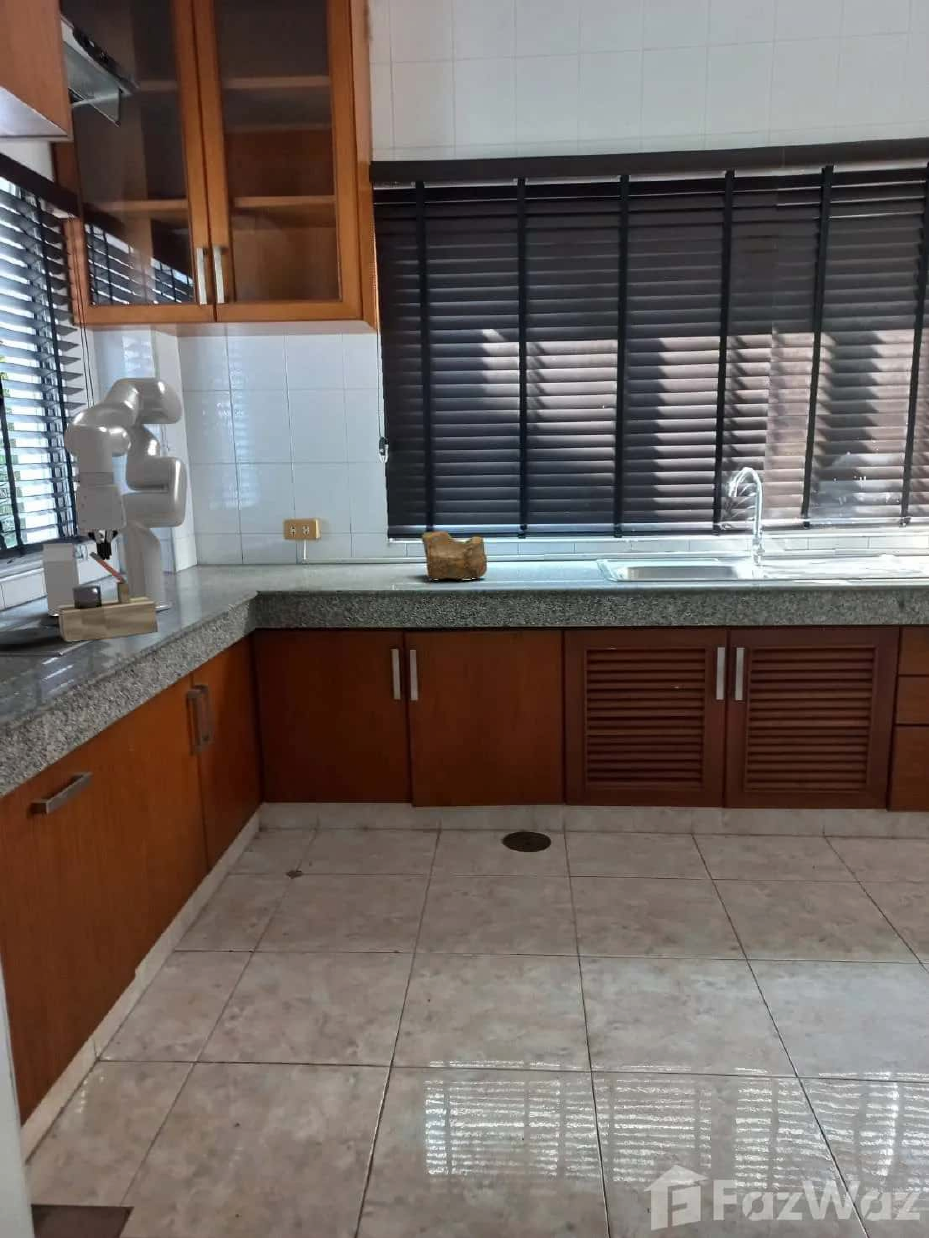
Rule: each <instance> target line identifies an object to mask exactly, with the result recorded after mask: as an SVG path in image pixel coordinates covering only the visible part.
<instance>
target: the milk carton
mask: <svg viewBox="0 0 929 1238" xmlns="http://www.w3.org/2000/svg"><path fill="white" fill-rule="evenodd" d="M42 546H43V550H42V559H41V560H42V568H43V577H44V583H45V584H44V585H45V586H44V587H45V594H46V601H47V612H48V616H49V615H55V614H58V606H64V605H74V599H73V590H72V588H74V587H79V586H80V580H79V570H78V569H79V568H78V560H77V555H76V551H75V548H74V543H73V542H66V543H63V542H61V543H43V544H42Z"/></svg>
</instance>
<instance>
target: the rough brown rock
mask: <svg viewBox="0 0 929 1238" xmlns="http://www.w3.org/2000/svg"><path fill="white" fill-rule="evenodd" d="M421 542H422V544H423V548H424V554H425V558H426V562H425V563H426V569H427V574H428V580H429V579H431V580H435V579H441V580H444V579H454V580H455V579H456V580H459V579H472V578H477V579H479V578H478V577H480V578H481V577H483V576H484V575H485V574H486V573H487V571H488V564H487V561H488V560H487V559H488V557H487V555H486V553H485V542H484V538H483V537H480V536H472V537H471V538H469V539H467V540H466V541H462V540H456V539H454V538H453V537H452V536H451V535H450V534H449V533H448V532H447V531H443V530H439V531H438V530H437V531H434V532H432V531H429V532H425V533H423V534H422V536H421Z"/></svg>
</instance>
